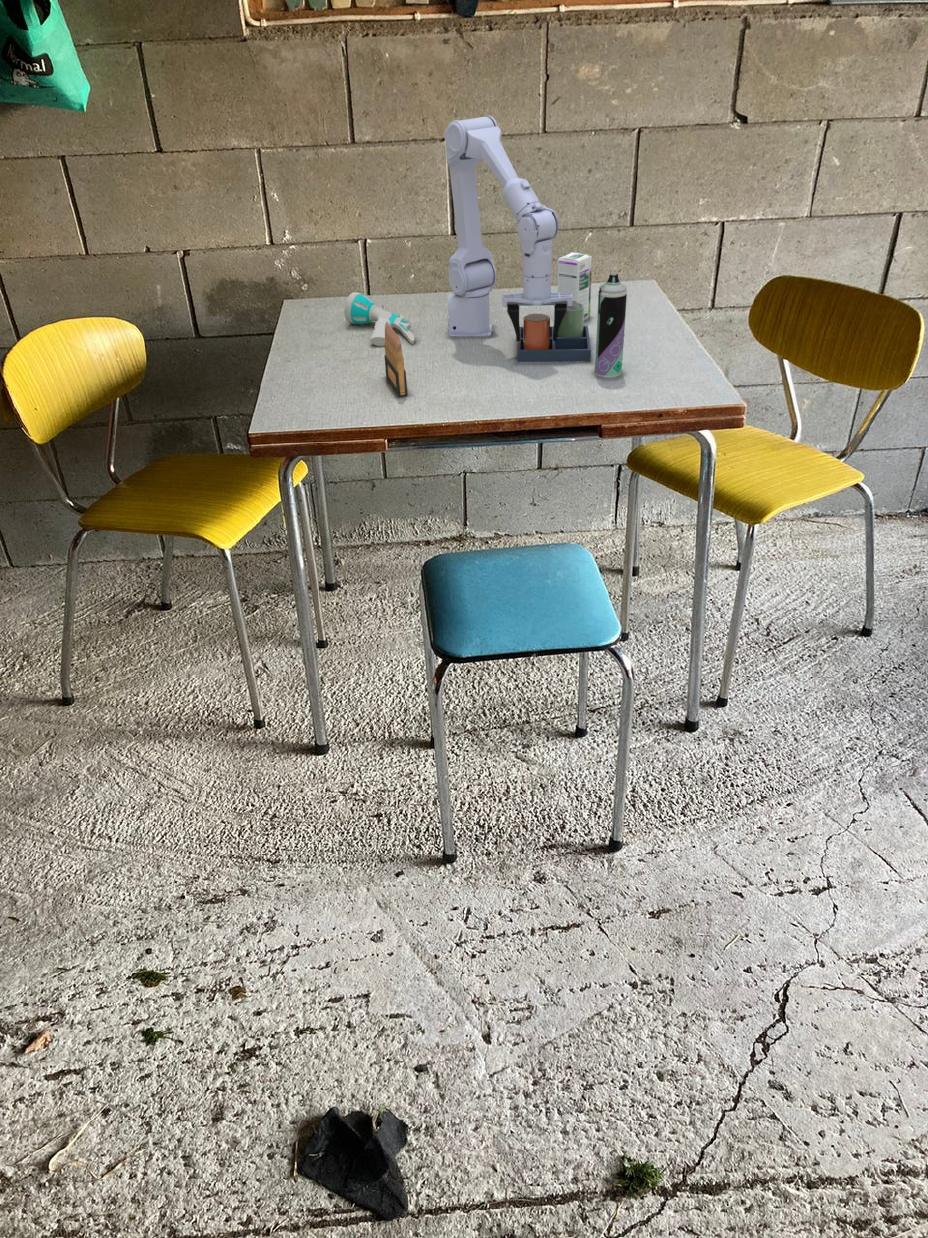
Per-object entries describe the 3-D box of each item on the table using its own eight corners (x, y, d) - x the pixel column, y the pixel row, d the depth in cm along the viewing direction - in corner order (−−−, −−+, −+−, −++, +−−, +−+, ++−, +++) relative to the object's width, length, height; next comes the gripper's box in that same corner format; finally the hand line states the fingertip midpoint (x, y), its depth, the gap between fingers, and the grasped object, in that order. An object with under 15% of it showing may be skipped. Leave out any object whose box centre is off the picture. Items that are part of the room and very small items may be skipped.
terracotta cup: (523, 359, 200) (523, 321, 195) (523, 350, 204) (523, 313, 200) (549, 359, 199) (550, 321, 195) (549, 350, 204) (549, 312, 199)
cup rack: (517, 364, 199) (517, 350, 198) (518, 339, 212) (518, 326, 210) (590, 363, 198) (591, 349, 196) (587, 338, 211) (587, 325, 209)
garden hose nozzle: (414, 328, 208) (420, 291, 223) (335, 323, 208) (346, 286, 223) (413, 358, 213) (419, 320, 228) (336, 353, 213) (347, 315, 227)
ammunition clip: (407, 395, 187) (403, 336, 180) (398, 397, 187) (394, 337, 180) (394, 377, 195) (390, 319, 188) (386, 378, 195) (381, 320, 188)
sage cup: (557, 347, 205) (558, 310, 201) (556, 338, 210) (557, 301, 205) (583, 346, 205) (584, 309, 200) (582, 338, 209) (583, 301, 205)
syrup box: (577, 324, 218) (580, 260, 210) (556, 320, 221) (557, 256, 213) (590, 318, 222) (593, 254, 214) (569, 314, 225) (571, 250, 217)
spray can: (604, 381, 190) (610, 279, 178) (589, 372, 194) (593, 273, 182) (626, 375, 192) (633, 275, 180) (611, 367, 196) (617, 268, 184)
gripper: (501, 280, 189) (501, 346, 197) (573, 278, 188) (571, 345, 196) (502, 270, 195) (502, 335, 203) (572, 269, 194) (570, 334, 202)
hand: (536, 339), depth 200 cm, fingers open, 7 cm apart
